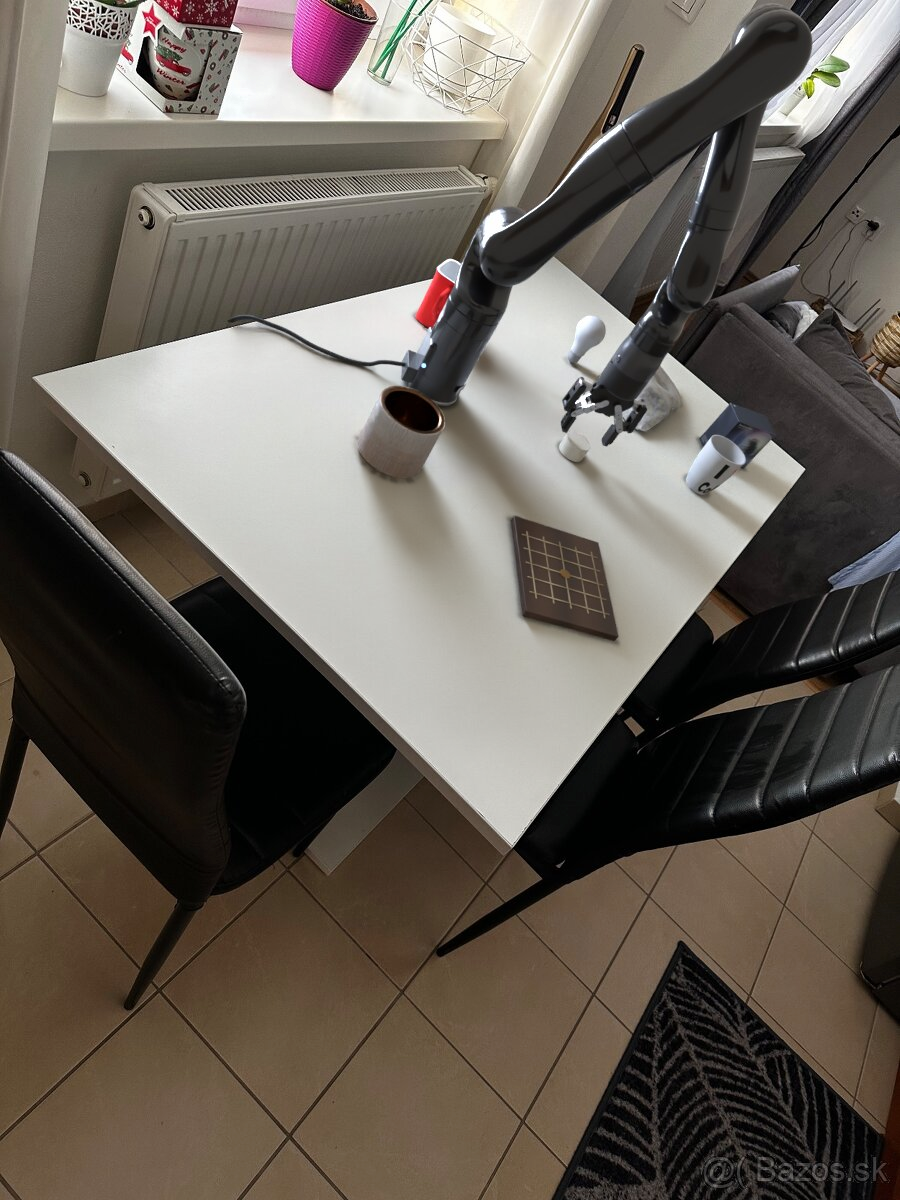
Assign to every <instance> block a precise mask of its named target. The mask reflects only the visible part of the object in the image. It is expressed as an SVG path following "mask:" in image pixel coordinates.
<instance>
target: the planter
mask: <svg viewBox="0 0 900 1200" xmlns="http://www.w3.org/2000/svg"><path fill="white" fill-rule="evenodd" d="M445 427H446V418H445V415H444V412H443V411H442V409H441V408H440V406H438V405H437V404H436V403H435V402H434V401H433V400H431V399H430V398H429V397H427V396H426V395H424V394H423V393H421V392H419V391H417V390H415V389H412V388H409V387H408V386H405V385H391V386H387V387H385V388H384V389H383V390H381V392H380V394H379V396H378V398H377V400H376V402H375V404H374V406H373V408H372V410H371V412H370V414H369V416H368V418H367V420H366V421H365V423H364V426H363V427H362V429H361V432H360V434H359V436H358V441H357V447H358V450H359V452H360V455H361V456H362V458H363V459H364V460H365V461H366V463H368V464H369V466H371V468H374V469H375V470H377V471H378V472H380V473H382V474H383V475H387V476H389V477H393V478H397V479H408V478H409V479H410V478H413V477H415V476H416V475H417V474H419V473H420V472H421V470H422V469H423V467H424V465H425V464H426V462H427V460H428V458H429V457H430V454H431V452H432V451H433V449H434V447H435V446H436V444H437V442H438V440H439V438H440V436H441V434H442V432H443V431H444V429H445Z"/></svg>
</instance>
